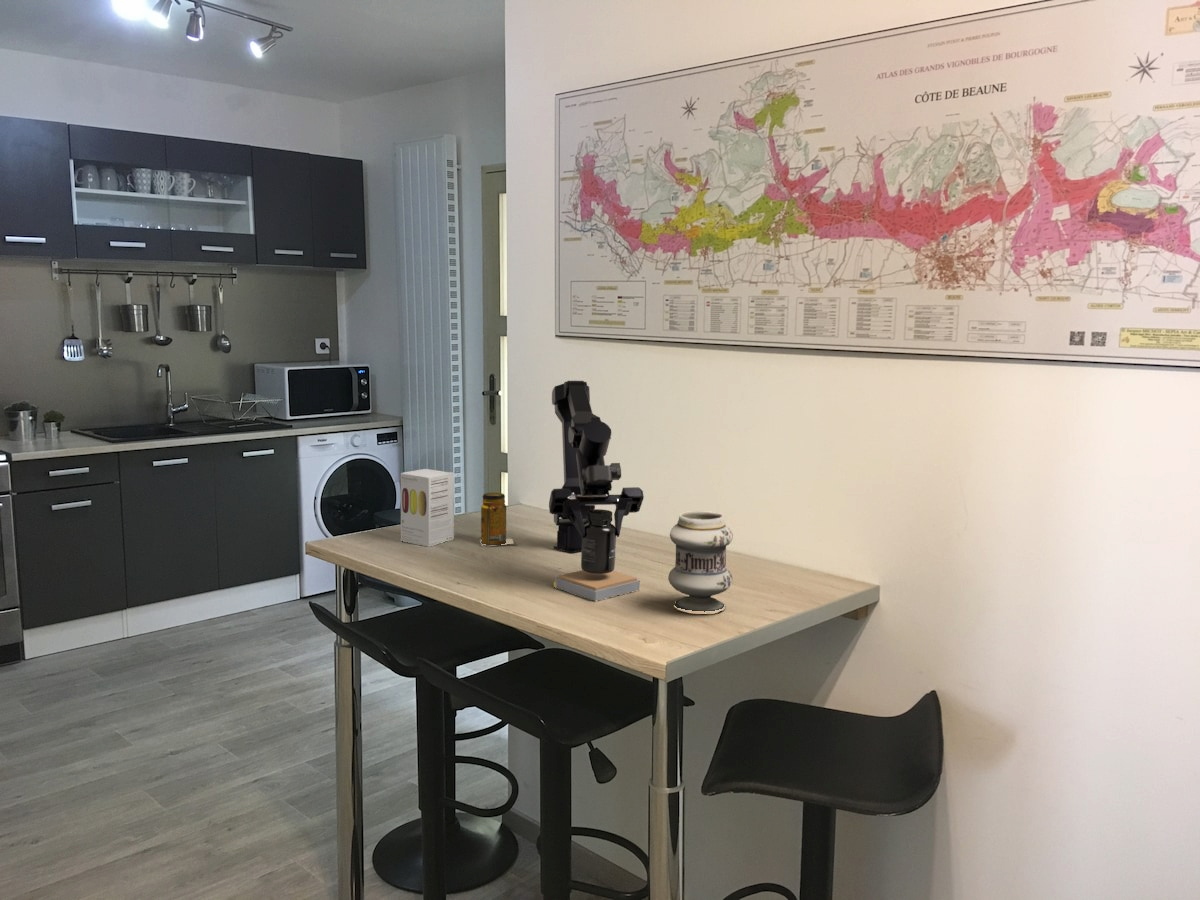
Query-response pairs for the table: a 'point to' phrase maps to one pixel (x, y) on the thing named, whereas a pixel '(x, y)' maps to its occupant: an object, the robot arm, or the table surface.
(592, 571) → the supplement bottle
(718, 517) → the apothecary jar
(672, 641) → the table surface
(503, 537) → the condiment
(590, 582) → the note pad
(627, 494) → the robot arm
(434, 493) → the supplement box
